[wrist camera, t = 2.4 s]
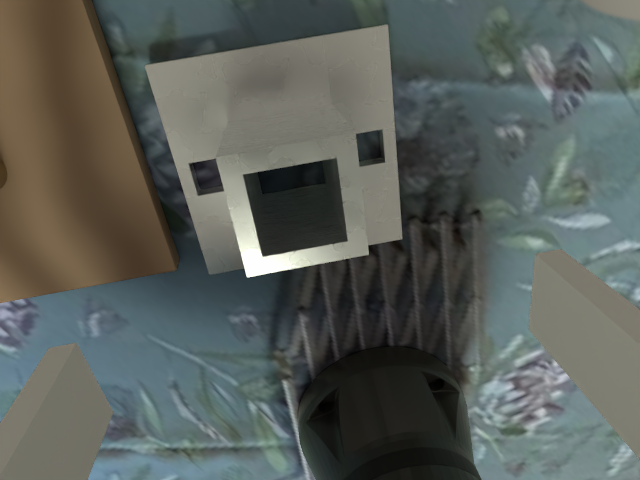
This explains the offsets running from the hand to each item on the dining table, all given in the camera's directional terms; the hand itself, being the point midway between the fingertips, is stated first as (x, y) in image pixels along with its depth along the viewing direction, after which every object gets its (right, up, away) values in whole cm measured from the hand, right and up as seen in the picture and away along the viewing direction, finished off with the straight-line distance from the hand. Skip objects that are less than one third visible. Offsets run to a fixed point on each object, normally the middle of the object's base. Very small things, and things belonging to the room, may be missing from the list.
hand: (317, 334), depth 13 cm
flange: (-2, +8, +16) cm, 19 cm away
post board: (-20, +8, +14) cm, 26 cm away
